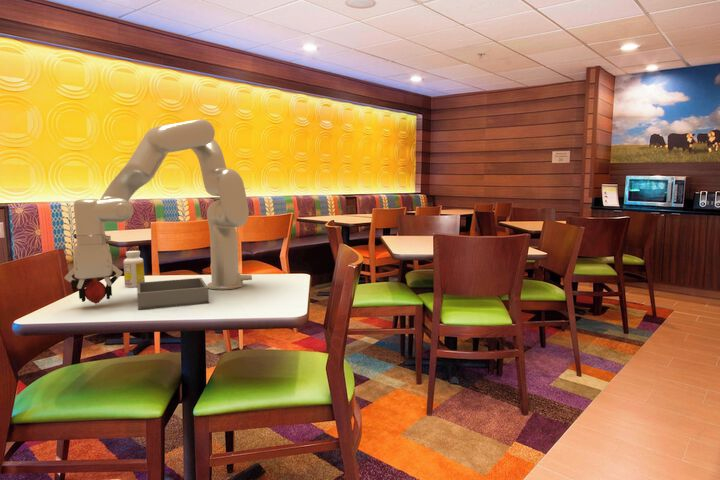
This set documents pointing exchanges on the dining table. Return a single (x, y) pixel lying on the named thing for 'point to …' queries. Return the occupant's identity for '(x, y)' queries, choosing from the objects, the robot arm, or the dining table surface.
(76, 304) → the dining table surface
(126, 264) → the supplement bottle
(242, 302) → the dining table surface
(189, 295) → the bin
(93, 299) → the onion
